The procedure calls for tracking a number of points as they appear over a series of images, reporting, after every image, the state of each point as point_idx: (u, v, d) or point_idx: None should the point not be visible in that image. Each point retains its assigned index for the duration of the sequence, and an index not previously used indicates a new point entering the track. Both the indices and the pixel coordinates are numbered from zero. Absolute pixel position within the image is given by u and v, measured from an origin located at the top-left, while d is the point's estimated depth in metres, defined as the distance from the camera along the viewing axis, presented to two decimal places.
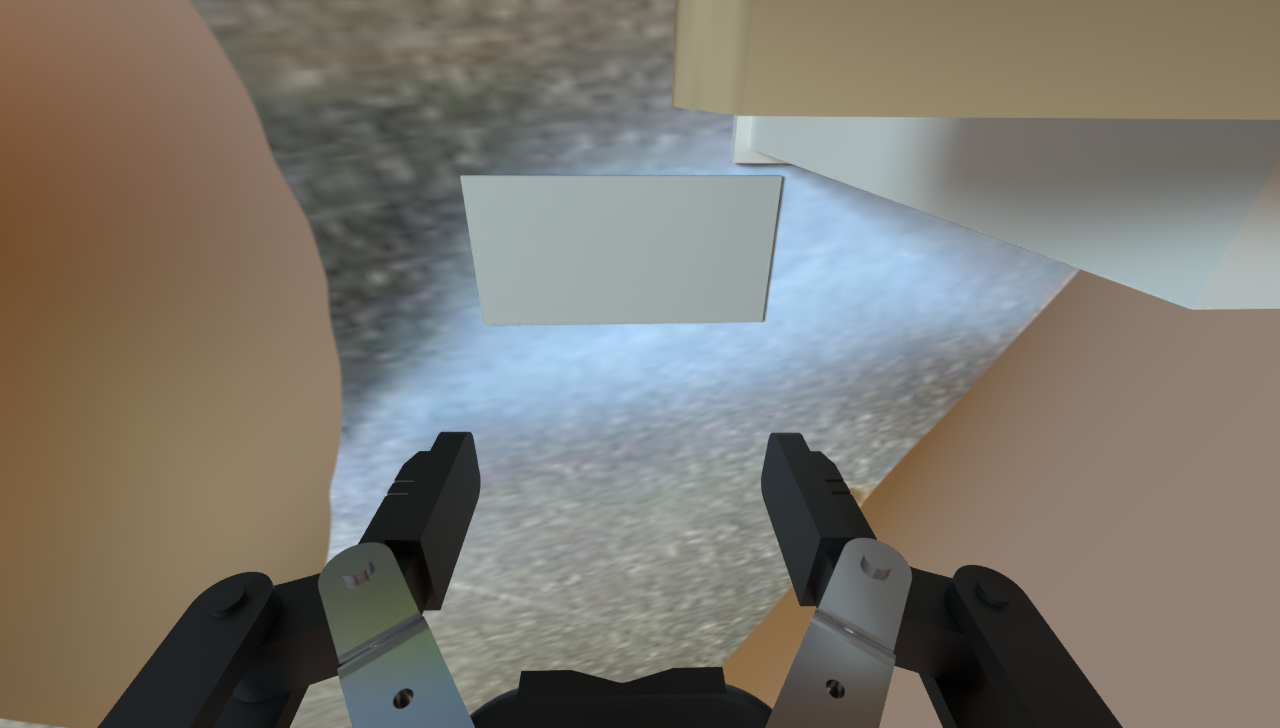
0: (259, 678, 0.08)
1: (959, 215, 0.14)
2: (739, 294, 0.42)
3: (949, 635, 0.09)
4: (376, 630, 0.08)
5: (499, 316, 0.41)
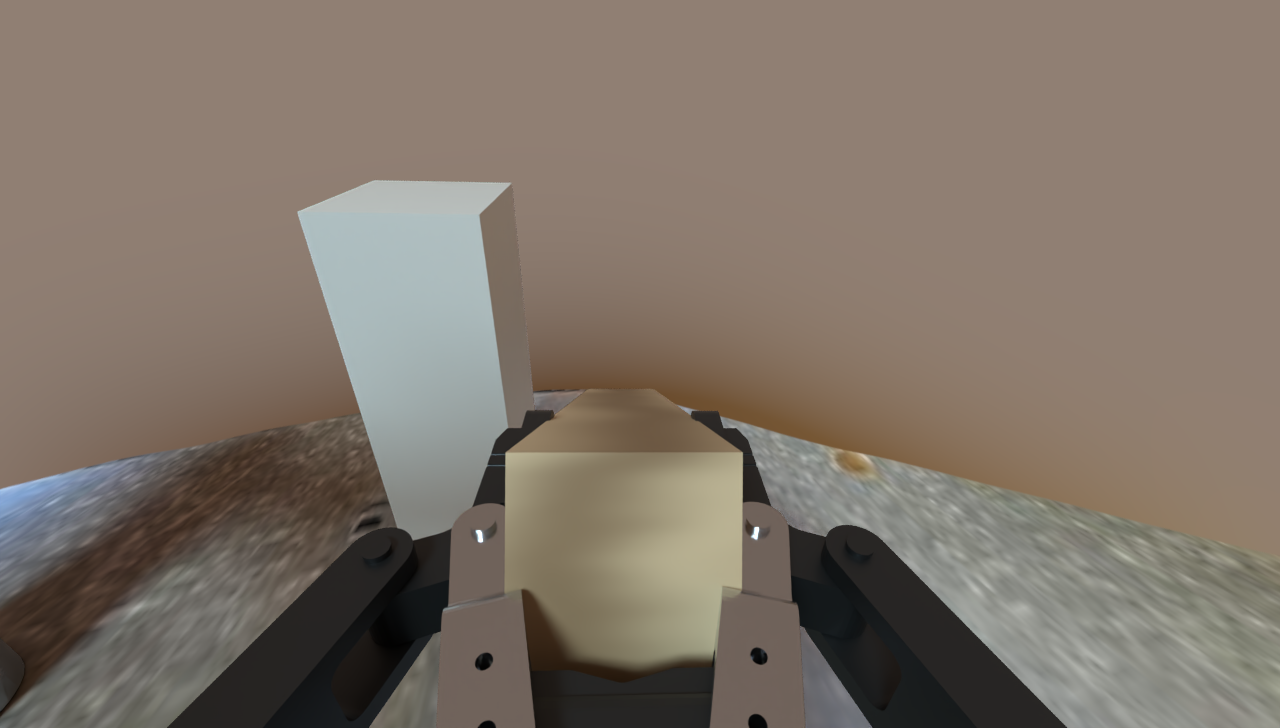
0: (387, 627, 0.09)
1: (489, 318, 0.31)
2: None
3: (819, 588, 0.09)
4: (483, 587, 0.09)
5: None
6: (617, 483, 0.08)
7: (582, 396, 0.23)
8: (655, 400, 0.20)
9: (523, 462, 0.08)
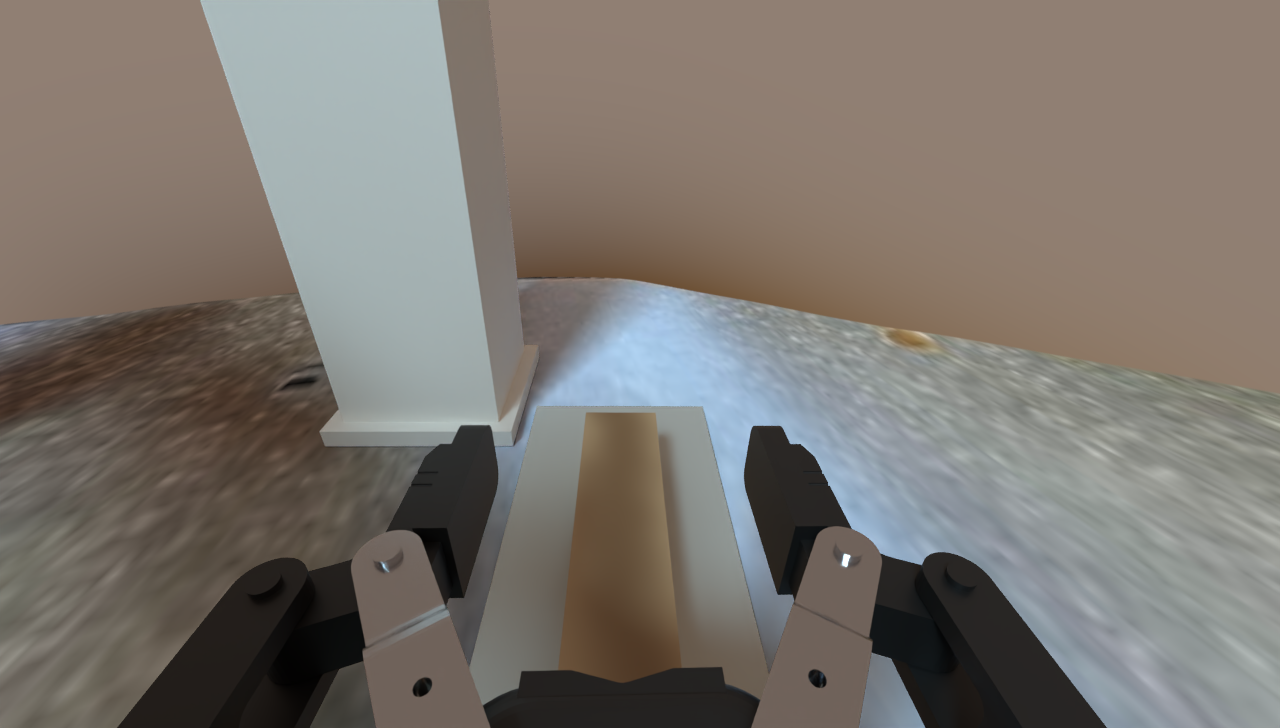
0: (291, 662, 0.09)
1: None
2: (670, 425, 0.34)
3: (917, 620, 0.09)
4: (402, 616, 0.08)
5: None
6: None
7: (579, 510, 0.22)
8: (655, 555, 0.20)
9: None
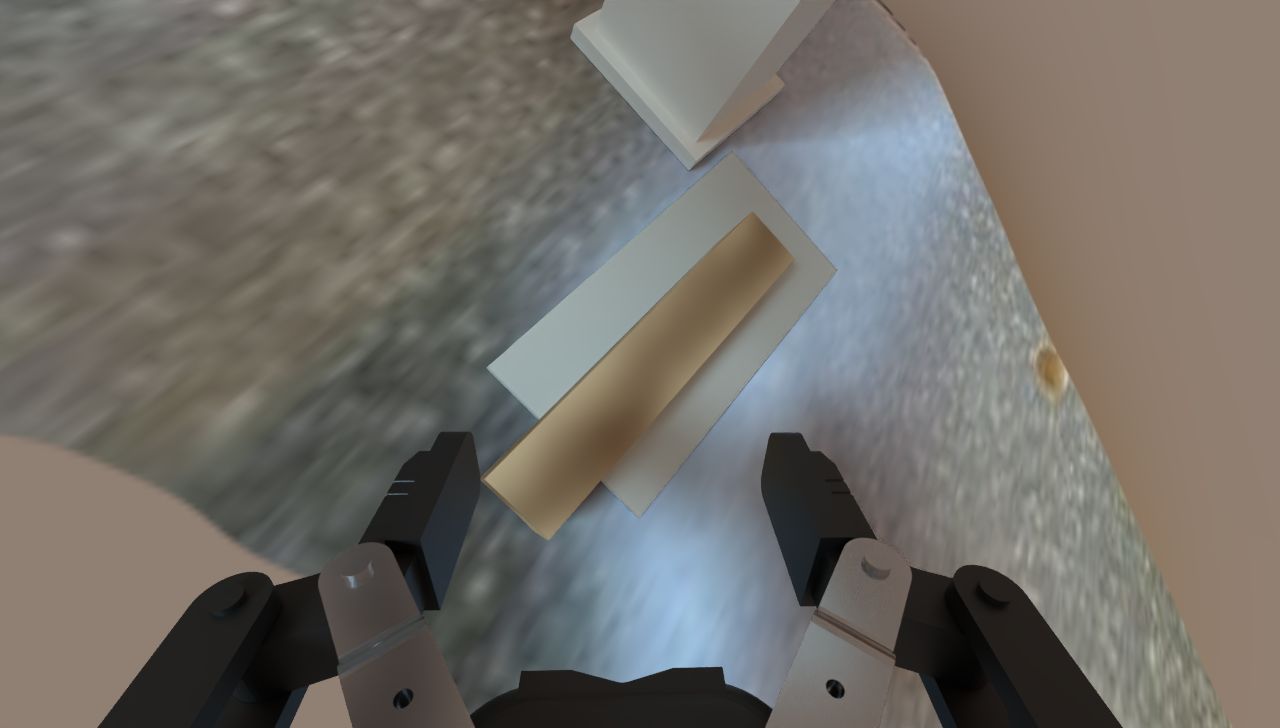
0: (259, 678, 0.08)
1: None
2: (800, 263, 0.36)
3: (949, 635, 0.09)
4: (376, 630, 0.08)
5: (644, 488, 0.28)
6: (513, 507, 0.22)
7: (683, 284, 0.28)
8: (697, 354, 0.27)
9: (489, 483, 0.22)
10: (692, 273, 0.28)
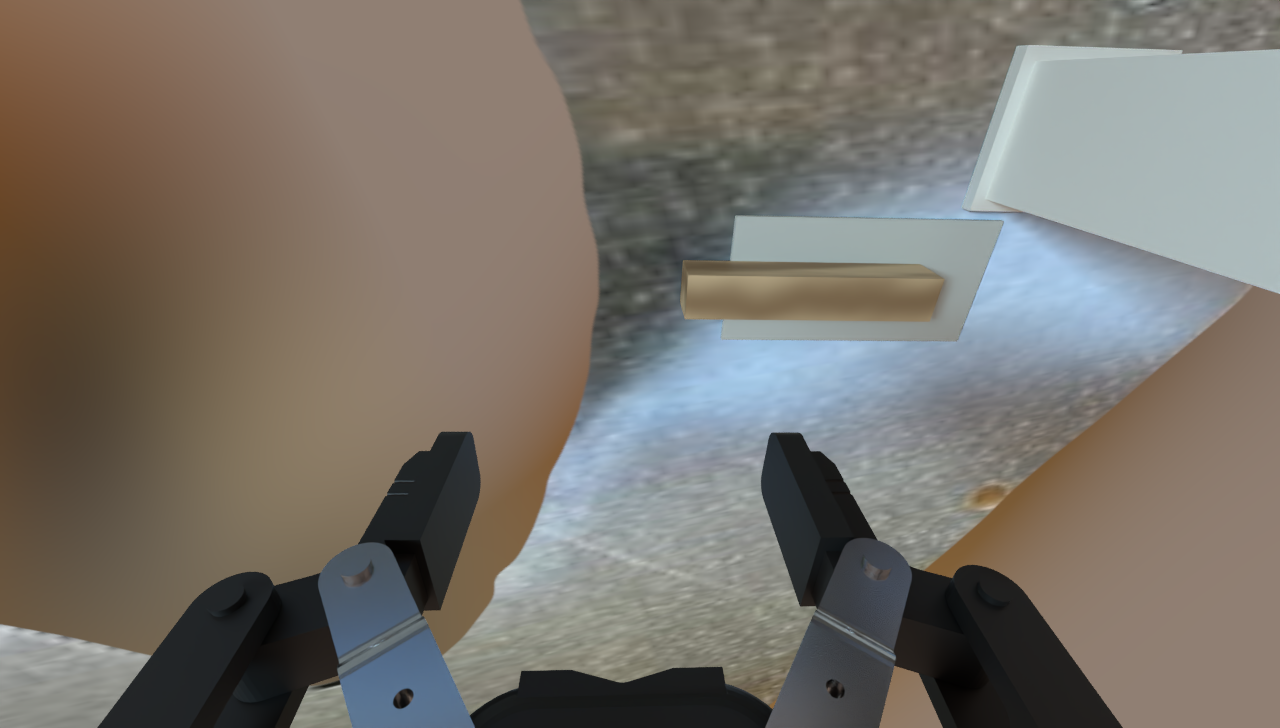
0: (259, 678, 0.08)
1: None
2: (943, 317, 0.48)
3: (949, 635, 0.09)
4: (376, 630, 0.08)
5: (736, 332, 0.48)
6: (686, 294, 0.42)
7: (859, 279, 0.42)
8: (823, 314, 0.43)
9: (687, 278, 0.41)
10: (870, 278, 0.42)
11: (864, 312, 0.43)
